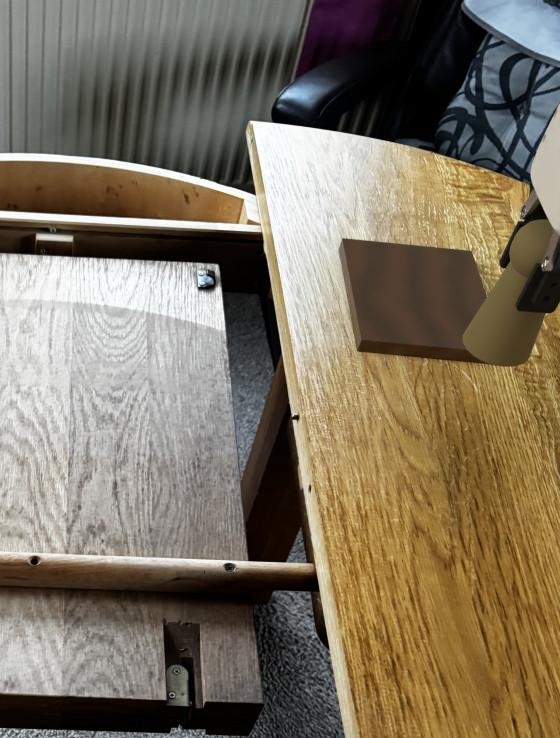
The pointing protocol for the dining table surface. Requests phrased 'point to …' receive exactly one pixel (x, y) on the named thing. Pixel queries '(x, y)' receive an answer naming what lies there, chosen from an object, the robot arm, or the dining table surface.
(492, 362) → the tan pawn
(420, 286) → the walnut board
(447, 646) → the dining table surface
